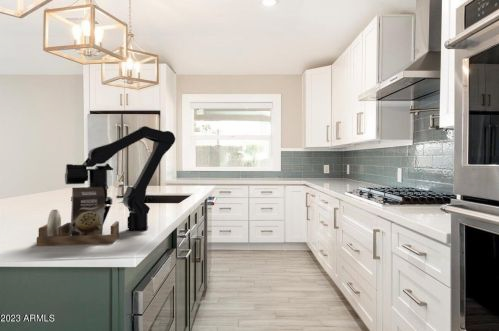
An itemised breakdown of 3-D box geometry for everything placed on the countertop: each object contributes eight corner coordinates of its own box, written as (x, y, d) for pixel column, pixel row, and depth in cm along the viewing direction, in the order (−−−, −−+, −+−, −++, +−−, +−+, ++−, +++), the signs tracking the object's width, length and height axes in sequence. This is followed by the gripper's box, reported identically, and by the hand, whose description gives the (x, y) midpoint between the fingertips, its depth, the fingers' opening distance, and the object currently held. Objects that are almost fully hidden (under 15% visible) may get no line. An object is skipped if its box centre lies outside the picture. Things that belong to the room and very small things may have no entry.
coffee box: (71, 242, 113) (72, 197, 107) (70, 230, 118) (71, 186, 112) (102, 239, 117) (105, 195, 111) (100, 227, 122) (102, 185, 116)
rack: (118, 236, 121) (118, 206, 121) (113, 243, 111) (113, 210, 111) (49, 238, 117) (49, 207, 117) (36, 245, 107) (36, 212, 107)
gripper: (80, 182, 134) (81, 224, 134) (65, 185, 115) (65, 234, 115) (112, 182, 136) (112, 223, 136) (102, 184, 118) (102, 232, 118)
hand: (98, 228), depth 126 cm, fingers open, 7 cm apart
